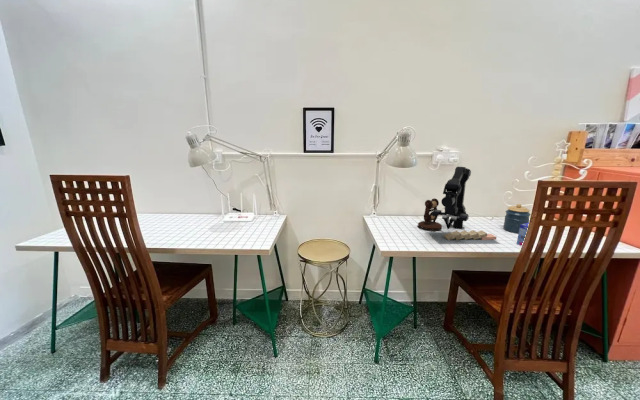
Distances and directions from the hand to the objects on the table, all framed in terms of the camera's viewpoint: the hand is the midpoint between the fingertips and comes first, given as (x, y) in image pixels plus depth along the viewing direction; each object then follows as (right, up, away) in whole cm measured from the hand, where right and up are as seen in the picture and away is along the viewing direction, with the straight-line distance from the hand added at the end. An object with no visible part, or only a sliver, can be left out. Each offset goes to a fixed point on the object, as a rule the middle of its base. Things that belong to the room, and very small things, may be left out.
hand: (448, 229), depth 157 cm
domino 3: (+9, -5, +1) cm, 10 cm away
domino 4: (+14, -5, +1) cm, 15 cm away
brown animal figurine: (-2, -2, +21) cm, 21 cm away
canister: (+50, -3, +15) cm, 53 cm away
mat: (+9, -6, +3) cm, 11 cm away
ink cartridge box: (+40, -8, -8) cm, 42 cm away
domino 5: (+19, -5, +1) cm, 20 cm away
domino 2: (+4, -5, +1) cm, 7 cm away
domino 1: (-1, -5, +1) cm, 5 cm away
